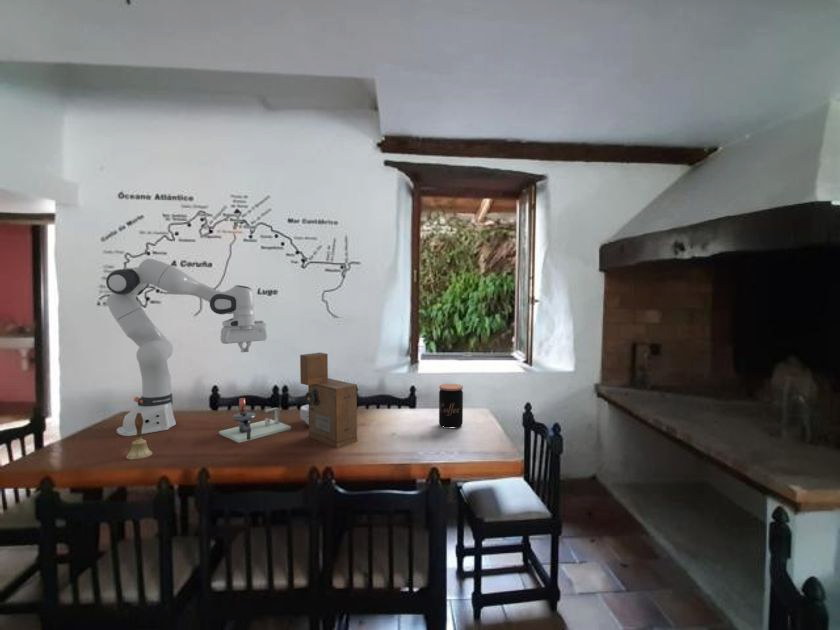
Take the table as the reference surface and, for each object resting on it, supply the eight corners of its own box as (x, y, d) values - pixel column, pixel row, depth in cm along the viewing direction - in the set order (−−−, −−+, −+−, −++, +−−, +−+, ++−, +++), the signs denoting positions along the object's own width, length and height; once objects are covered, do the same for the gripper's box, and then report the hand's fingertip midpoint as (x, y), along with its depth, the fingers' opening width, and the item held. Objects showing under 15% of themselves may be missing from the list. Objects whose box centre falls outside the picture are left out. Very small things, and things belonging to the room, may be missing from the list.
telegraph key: (231, 426, 198) (230, 399, 197) (253, 423, 202) (252, 397, 201) (236, 442, 178) (236, 411, 177) (260, 438, 182) (260, 408, 181)
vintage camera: (300, 439, 186) (299, 354, 184) (328, 431, 197) (327, 351, 195) (328, 450, 174) (328, 359, 171) (357, 441, 184) (356, 355, 182)
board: (238, 442, 182) (238, 419, 181) (219, 433, 193) (218, 411, 192) (291, 429, 200) (290, 407, 199) (270, 421, 211) (269, 401, 210)
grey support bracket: (267, 426, 199) (267, 410, 199) (265, 425, 201) (264, 409, 200) (279, 423, 204) (279, 408, 203) (276, 422, 205) (276, 407, 205)
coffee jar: (435, 427, 203) (435, 387, 202) (443, 420, 213) (443, 382, 212) (458, 430, 199) (458, 389, 198) (465, 423, 209) (465, 384, 208)
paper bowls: (314, 417, 219) (314, 400, 218) (340, 421, 212) (340, 404, 212) (293, 425, 205) (293, 408, 205) (320, 430, 198) (320, 412, 198)
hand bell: (149, 450, 174) (147, 408, 173) (155, 455, 168) (153, 413, 167) (123, 455, 168) (122, 413, 167) (129, 461, 162) (127, 417, 161)
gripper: (262, 319, 214) (263, 349, 215) (218, 322, 199) (219, 353, 200) (269, 320, 210) (269, 350, 210) (224, 323, 195) (225, 355, 196)
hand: (244, 352), depth 205 cm, fingers closed
